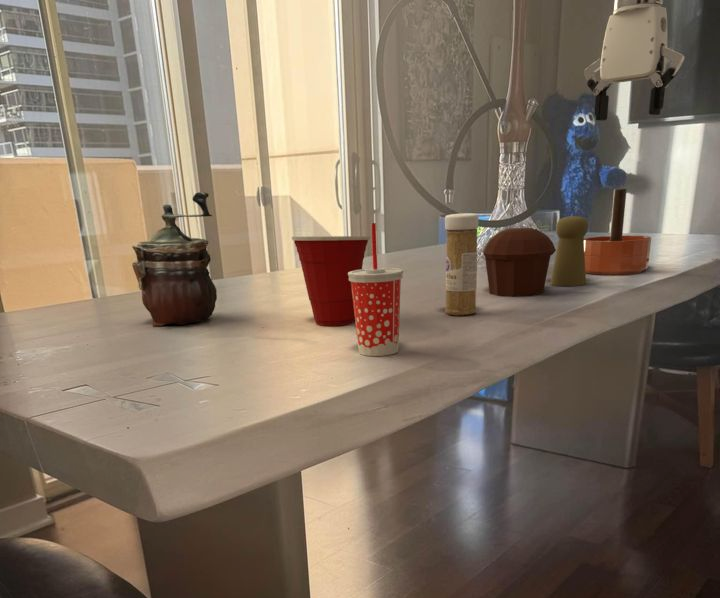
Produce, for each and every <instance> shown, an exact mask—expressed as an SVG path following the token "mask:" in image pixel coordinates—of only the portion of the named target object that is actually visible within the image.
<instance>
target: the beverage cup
mask: <svg viewBox="0 0 720 598" xmlns="http://www.w3.org/2000/svg"><path fill="white" fill-rule="evenodd" d="M370 224H371V251H372V267H370V268H362V269H361V270H355V271H350V272H348V276H349V281H351V287H352V296H353V305H354V314H355V322H354V323H355V330H356V337H357V338H356V341H357V348H358V349H357V350H358V353H359V354H360V355H362V356H367V357H385V356H390V355H393V354H397V353H398V352H399V343H400V315H401V314H400V313H401V312H400V311H401V285H402V282H401V280H402V279H403V278H404V276H403V274H404V269H402V268H398V267H397V268H395V267H378V246H377V223H376V222H371V223H370Z"/></svg>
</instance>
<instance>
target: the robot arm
mask: <svg viewBox="0 0 720 598" xmlns="http://www.w3.org/2000/svg"><path fill="white" fill-rule="evenodd" d="M663 4H664V0H613V12H612V14H611V15H609V18H608V21H607V24H606V29H605V34H604V38H603V43H602V50H601V57H599V58H598V59H596V60H595V61H594V62H592V63H591V64H590V65H589V66H588V67H586V68H585V69H584V70H583V75H584V78H585V81H586V83H587V84H586V85H587V87H588V88H589V89H590V91H591V92H592V94H593V95H594V96H595V101H594V116H595V120H596V121H602V122H603V121H607V120H608V114H609V100H610V96H609V95H607V93H608V91H609V90H610V89H611V88H612V86H613V85H614V83H618V84H619V83H627V82H634V81H635V82H636V81H640V80H641V81H642V80H647V79H650V81H651V82H652V83H653V85H654V86H653V87H652V88H651V91H650V96H649V97H650V98H649V108H648V115H651V116H660V114H661V110H662V109H663V108H664V103H665V102H664V101H665V100H664V99H665V93H666V88H668V86H669V84H670V83H671V82H672V80H673V79H675V77H676V76H677V74H678V71H679V69H681V67H682V65H683V62H684V60H685V58H686V57H685V55H684V54H682V53H680V52H678V51H676V50H673V49H672V48H669V47H668V15H667V13H668V12H667V7H663V6H662V5H663ZM667 59H668V60H670V61H671V62H670V65H669V67H668V69H667V70H666V67H667V61H668V60H667ZM598 71H599V77H600V80H599V81H598V80H597V78H596V73H597V72H598Z"/></svg>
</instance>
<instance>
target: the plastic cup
mask: <svg viewBox="0 0 720 598" xmlns="http://www.w3.org/2000/svg"><path fill="white" fill-rule="evenodd" d="M370 239H371V235H334V236H333V235H332V236H331V235H329V236H328V235H327V236H322V235H320V236H319V235H318V236H314V235H313V236H291V240H292V241H294V245H295V247H296V252H297V255H298V258H299V259H298V260H299V261H300V266H301V269H302V274H303V278H304V284H305V288H306V292H307V296H308V300H309V302H310V307H311V312H312V315H313V319H314V321H315V324H316V325H317V326H323V327H337V326H347V325H351V324H354V323H355V314H354V305H353V296H352V287H351V281H349V276H348V272H350V271H355V270H361V269H363V263H364V259H365V252H366V249H367V246H368V243H369V240H370Z"/></svg>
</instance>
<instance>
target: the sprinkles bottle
mask: <svg viewBox="0 0 720 598" xmlns="http://www.w3.org/2000/svg"><path fill="white" fill-rule="evenodd" d="M478 229H479V214H478V213H471V212H469V213H468V212H467V213H465V212H463V213H451V214H446V215H445V217H444V230H445V233H446V244H445V245H446V252H445V253H446V257H445V308H444V311H445V314H447V315H450V316H455V317H456V316H459V317H461V316H469V315H473V314H475V313H477V307H476V303H477V302H476V301H477V299H476V298H477V283H478V281H477V278H478Z"/></svg>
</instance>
